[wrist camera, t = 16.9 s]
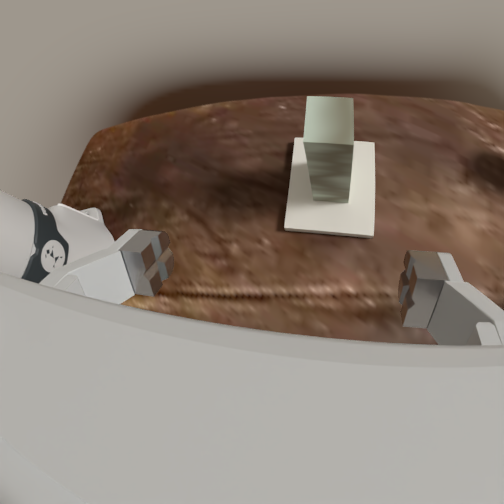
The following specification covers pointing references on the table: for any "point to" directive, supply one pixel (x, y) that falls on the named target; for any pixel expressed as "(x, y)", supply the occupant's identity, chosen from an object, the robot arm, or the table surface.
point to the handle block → (329, 147)
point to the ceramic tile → (333, 213)
